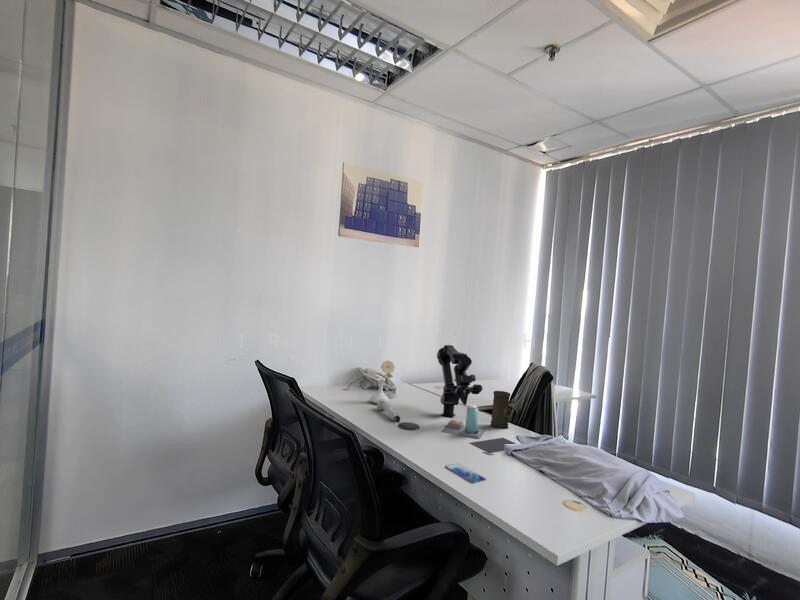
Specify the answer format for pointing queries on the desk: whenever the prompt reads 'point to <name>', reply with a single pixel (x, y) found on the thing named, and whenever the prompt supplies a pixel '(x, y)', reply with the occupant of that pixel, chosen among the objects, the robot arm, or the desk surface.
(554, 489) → the desk surface
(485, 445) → the notebook
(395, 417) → the white tube
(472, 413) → the cartridge
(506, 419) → the container
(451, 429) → the housing
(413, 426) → the pad
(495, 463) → the desk surface
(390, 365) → the flower in vase
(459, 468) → the smartphone
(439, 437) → the desk surface
